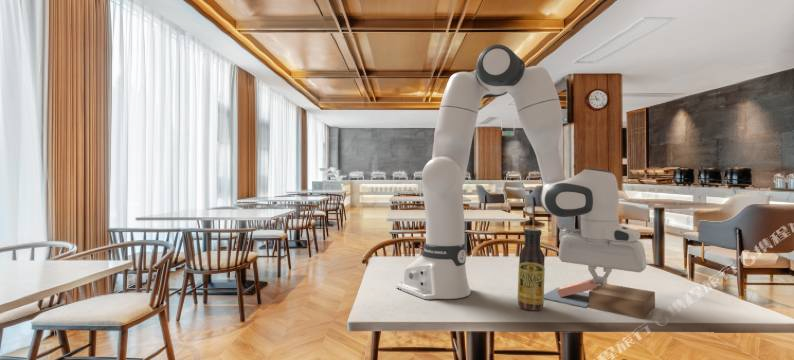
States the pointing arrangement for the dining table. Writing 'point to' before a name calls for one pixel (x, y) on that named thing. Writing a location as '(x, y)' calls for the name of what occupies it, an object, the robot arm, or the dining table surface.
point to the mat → (569, 298)
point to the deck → (622, 300)
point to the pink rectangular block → (577, 288)
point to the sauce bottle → (531, 272)
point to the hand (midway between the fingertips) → (600, 283)
